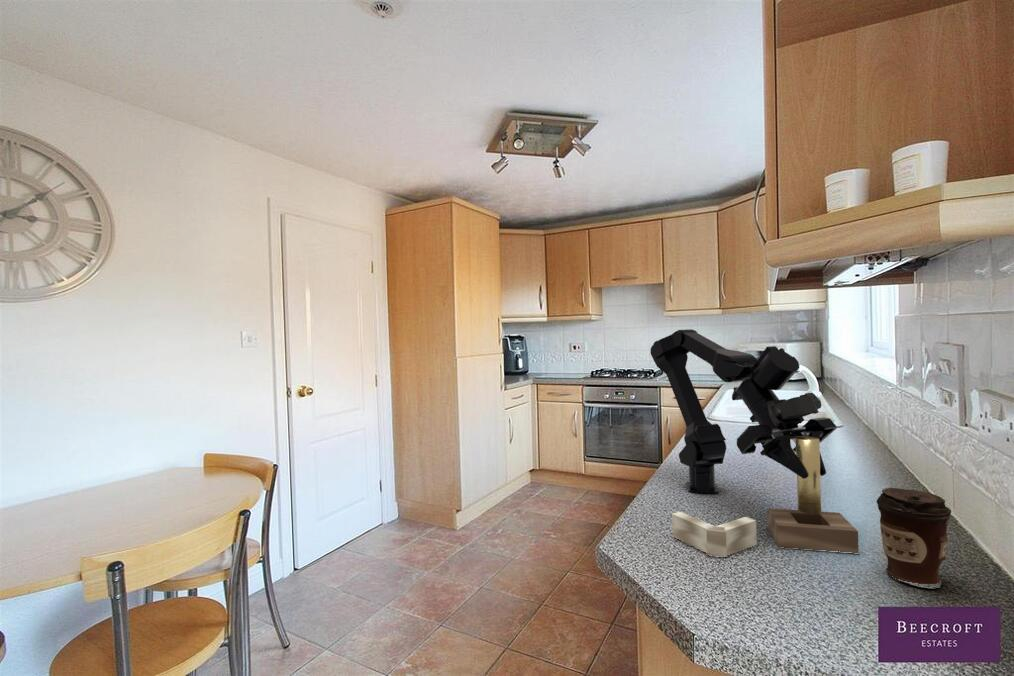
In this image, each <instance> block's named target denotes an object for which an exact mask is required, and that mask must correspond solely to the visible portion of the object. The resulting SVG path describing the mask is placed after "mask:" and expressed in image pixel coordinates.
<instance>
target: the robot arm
mask: <svg viewBox="0 0 1014 676" xmlns="http://www.w3.org/2000/svg"><path fill="white" fill-rule="evenodd" d="M689 353H691V354H693V355H695V356H696V357H697V358H699V359H701V360H702V361H704V362H705V363H708V364H709V365H710V366H711V367H712V372H713V373H714V374H715V375H716V376H717V377H718V378H719V379H721V380H722V381H723V382H724V383H738V382H741V383H740V384H739V385H738V386H736V387H735V386H734V387H733V388H732V389H733V392H732V394H731V399H732V401H742V402H743V403H744V404H745V406H746V407H747V409H748V410H749V412H750V413H751V416H750V417H749V420H750V421H751V423H752V424H753V423H758V424H755V425H748V427H746V428H745V429H744V431H743V432H742V433H741V434H740V435H739V436H738V437H737V438H736V446H737V448H738V450H739V451H740V453H741V455H746V454H753V453H755V452H756V450H757V446H756V445H757V444H761V447H762V450H761V451H760V452H759V454H760V455H761V456H762V457H763V456H766V457H767V458H769V459H771V460H773V461H774V462H777V463H778V464H779V465H781V466H782V467H784V468H786V469H788V470H790V471H791V472H793V474H795V475H796V476H797V475H799V476H800V477H802V478H803V479H805V478H807V477H808V476H809V475H808V473H807V471H806V469H805V468H804V466H803V464H802V463H801V461H800V460H799V458H798V457H797V455H796V446H795V447H792V444H791V443H792V442H794V444H795V445H796V437H798V436H810V437H816V438H819V441H820V443H822V442H823V441H824V440H825V439H826V438H827V437H829V436H830V435H831V434H832V433H833V432H834V431H835V430H837V429H838V426H837V424H835V423H834V421H833V420H832V419H831V418H829V417H815V418H810V419H809V420H808V421H807V422H805V424H804V425H803V426H800V427H799V425H800V424H802V423H803V422H804V421H805V418H804V417H806V416H810V415H812V414H813V415H815V414H818V413H819V409H821V408H822V401H821V399H820V398H819V397H818V396H817V395H816V394H815V393H813V392H804V394H801V395H799V396H794V397H791V398H789V399H784V398H783V399H780V398H779V397H778V396H777V395H776V393H775V392H774V391H778V390H781V389H782V388H783V387H785V385H786V384H787V383H788V382H789V380H791V379H792V378H793V376H794V375H795V374H796V373H797V372H798V371H799V369H800V363H799V361H798V359H797V358H796V357H795V356H792V355H791V354H790V353H788V352H785V351H784V350H780V349H779V348H778V347H777V346H776V345H775V346H774V345H773V346H772V345H771V346H770V345H769V346H766V347H765V349H764V350H763V351H762V354H760V356H759V358H758V359H757V358H756V357H755V356H754V355H752V354H750V353H747V352H744V351H740V350H733V349H728V348H726V347H724V346H722V345H720V344H718V343H716V342H715V341H713V340H711V339H709V338H707V337H705V336H704V335H701V334H700V333H698V331H696V330H694V329H691V328H690V329H689V328H688V329H677V330H675V331H674V332H673V333H671V334H669V335H666V336H665V337H662V338H661V339H658V340H656V341H654V342H653V344H652V345H651V346H650V355H651V357H652V360H653V362H654V363H655V365H656V367H657V368H658V369H659V370H661V371H662V372H663V373H664V374H665V375H666V377H667V380H668V381H669V385H670V387H671V390H672V392H673V395H674V397H675V401H676V402H677V405H678V408H679V411H680V412H681V413H680V414H681V415H682V418H683V421H684V423H685V426H686V428H685V433H684V437H683V440H684V443H685V445H684V447H682V449H681V451H680V452H679V453H678V458H679V462H680V464H683V465H685V466H687V467H688V480H689V481H686V485H687V490H688V492H689V493H698V494H699V493H700V494H701V493H702V494H713V495H714V494H716V495H717V494H719V490H718V487H717V484H716V476H715V474H716V473H715V465H718V464H719V465H722V464H723V463H724V460H725V455H726V451H727V443H726V440H727V439H726V438H725V436H724V434H723V432H722V430H721V426H720V425H719V424H718V423H713V424H712V423H711V422H710V421H709V420H708V419H707V417H706V415H705V412H704V409H703V407H702V404H701V402H700V400H699V397H698V394H697V392H696V390H695V387H694V385H693V383H692V381H691V378H690V375H689V373H688V370H687V368H686V367H687V362H688V359H689V357H688V354H689ZM791 441H792V442H791ZM826 474H827V471H826V467H825V463H824V461H823V458H822V454H821V452H820V477H823V476H825V475H826Z"/></svg>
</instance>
